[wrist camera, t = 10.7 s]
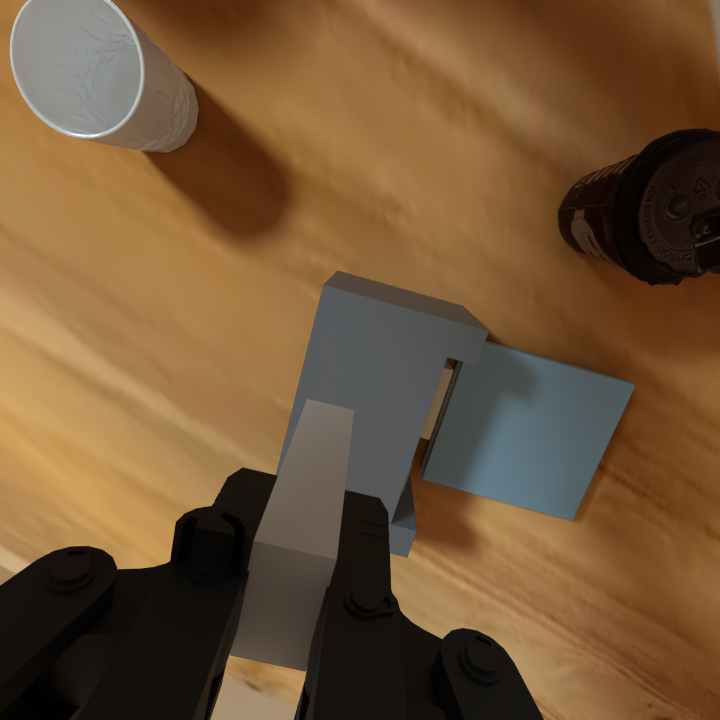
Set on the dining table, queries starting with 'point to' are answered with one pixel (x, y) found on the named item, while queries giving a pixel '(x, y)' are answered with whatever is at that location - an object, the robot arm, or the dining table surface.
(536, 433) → the side door
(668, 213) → the coffee cup
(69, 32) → the white cup
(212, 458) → the dining table surface
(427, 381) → the grey notched block
